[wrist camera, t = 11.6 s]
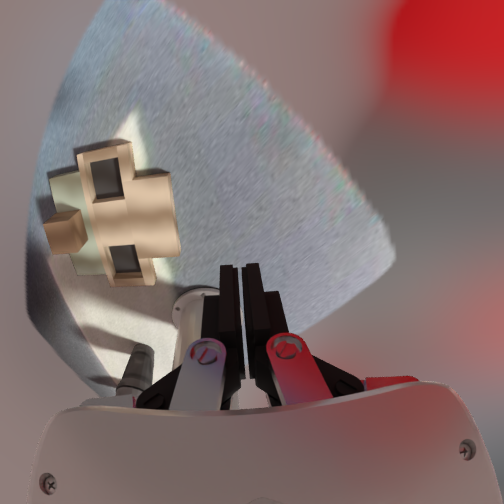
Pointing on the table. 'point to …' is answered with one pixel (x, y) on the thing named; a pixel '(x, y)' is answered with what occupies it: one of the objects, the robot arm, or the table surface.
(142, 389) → the beverage cup
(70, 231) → the walnut block
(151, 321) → the table surface
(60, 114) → the table surface
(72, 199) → the board
